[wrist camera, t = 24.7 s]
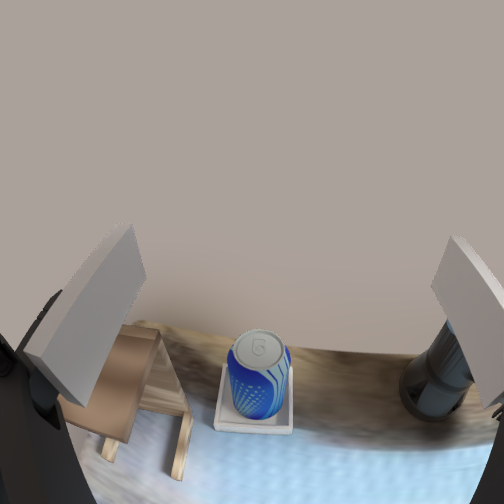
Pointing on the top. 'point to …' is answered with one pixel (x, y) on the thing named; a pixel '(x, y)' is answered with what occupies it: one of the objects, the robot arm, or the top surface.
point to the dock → (133, 393)
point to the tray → (235, 422)
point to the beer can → (258, 373)
